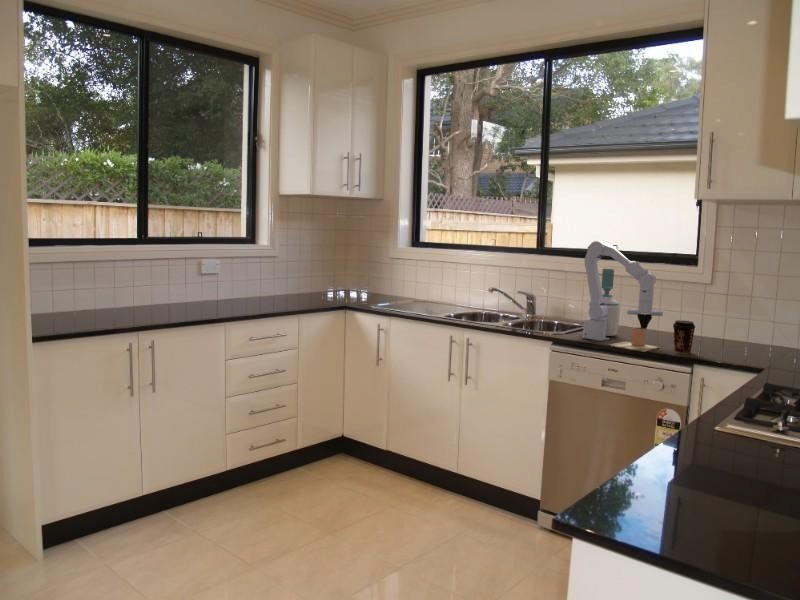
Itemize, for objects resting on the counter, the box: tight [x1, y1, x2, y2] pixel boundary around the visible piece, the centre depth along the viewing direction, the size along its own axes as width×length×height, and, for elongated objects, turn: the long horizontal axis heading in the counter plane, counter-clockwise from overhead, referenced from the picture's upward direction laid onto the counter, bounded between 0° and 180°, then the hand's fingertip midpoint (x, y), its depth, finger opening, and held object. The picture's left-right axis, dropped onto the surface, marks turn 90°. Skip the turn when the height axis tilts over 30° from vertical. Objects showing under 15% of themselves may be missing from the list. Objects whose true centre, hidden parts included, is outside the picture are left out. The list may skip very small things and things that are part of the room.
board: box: [609, 341, 661, 353], centre depth 293 cm, size 16×14×1 cm
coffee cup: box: [672, 319, 696, 355], centre depth 283 cm, size 9×8×13 cm
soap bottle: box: [601, 268, 620, 337], centre depth 320 cm, size 12×12×31 cm
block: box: [631, 326, 647, 346], centre depth 294 cm, size 4×4×8 cm
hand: (643, 331), depth 297 cm, fingers closed
